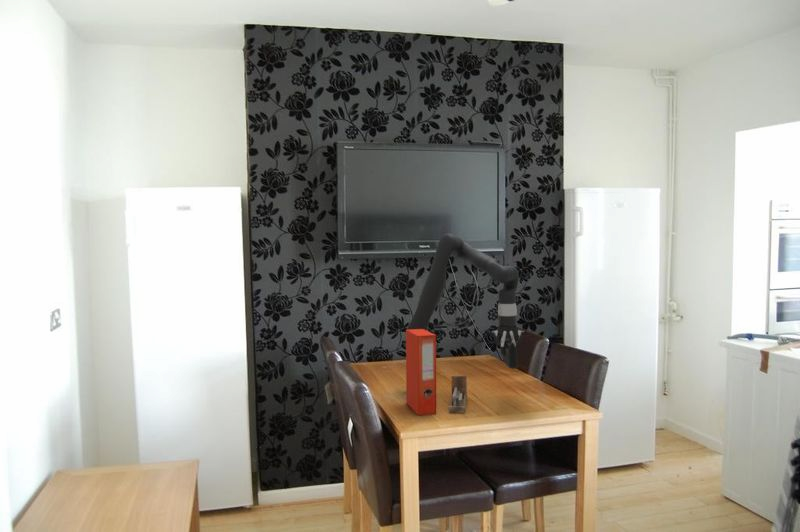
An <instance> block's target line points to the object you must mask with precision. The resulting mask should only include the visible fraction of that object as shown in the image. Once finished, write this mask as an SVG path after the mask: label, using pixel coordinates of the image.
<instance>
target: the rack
mask: <svg viewBox="0 0 800 532" xmlns="http://www.w3.org/2000/svg"><path fill="white" fill-rule="evenodd" d="M467 378H468V376H467V375H451V394H450V400H449V405H448V413H449V414H466V410H467V409H466V408H467V400H468V399H467V398H468V389H467V387H468V383H467V380H468V379H467ZM455 388H457V390H460V393H462V398H463V404H462V407H461V406H453V393H454V389H455Z"/></svg>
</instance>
